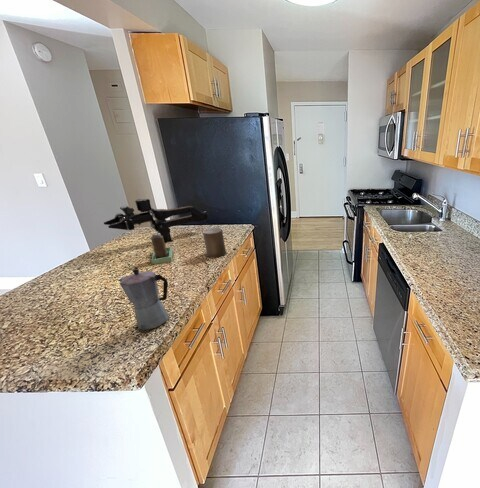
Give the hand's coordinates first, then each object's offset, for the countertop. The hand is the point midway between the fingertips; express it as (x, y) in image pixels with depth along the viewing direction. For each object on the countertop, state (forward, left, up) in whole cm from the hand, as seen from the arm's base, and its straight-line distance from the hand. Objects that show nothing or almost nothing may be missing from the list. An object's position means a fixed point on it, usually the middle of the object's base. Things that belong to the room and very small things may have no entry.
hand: (106, 225), depth 136 cm
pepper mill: (-14, +29, -16) cm, 36 cm away
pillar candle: (-37, +41, -17) cm, 58 cm away
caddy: (-16, +25, -17) cm, 34 cm away
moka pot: (+4, +81, -17) cm, 83 cm away
